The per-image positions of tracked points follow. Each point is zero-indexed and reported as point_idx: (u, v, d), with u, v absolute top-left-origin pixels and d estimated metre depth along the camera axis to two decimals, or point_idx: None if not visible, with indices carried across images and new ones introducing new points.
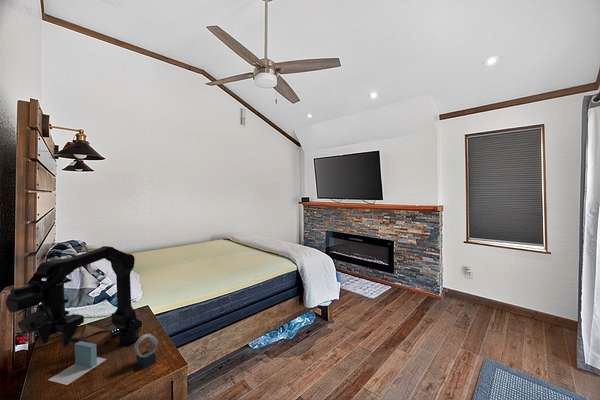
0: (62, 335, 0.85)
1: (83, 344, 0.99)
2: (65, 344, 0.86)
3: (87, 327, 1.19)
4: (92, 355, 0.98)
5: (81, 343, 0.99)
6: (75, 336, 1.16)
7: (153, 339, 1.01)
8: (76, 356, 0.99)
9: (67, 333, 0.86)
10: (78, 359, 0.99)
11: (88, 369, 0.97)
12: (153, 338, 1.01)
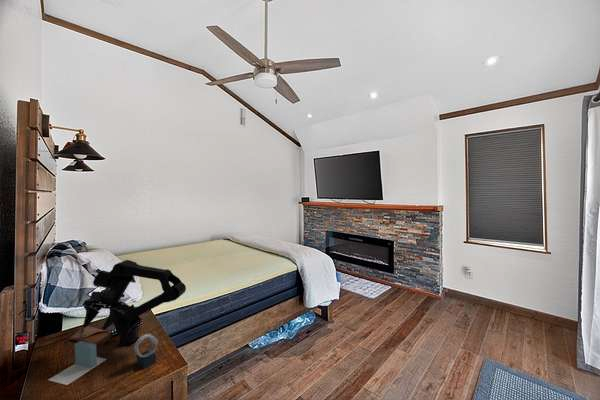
0: (110, 316, 1.02)
1: (83, 344, 0.99)
2: (105, 326, 1.01)
3: (86, 327, 1.19)
4: (92, 355, 0.98)
5: (81, 343, 0.99)
6: (74, 336, 1.16)
7: (153, 339, 1.01)
8: (76, 356, 0.99)
9: (112, 317, 1.03)
10: (78, 359, 0.99)
11: (88, 369, 0.97)
12: (153, 338, 1.01)
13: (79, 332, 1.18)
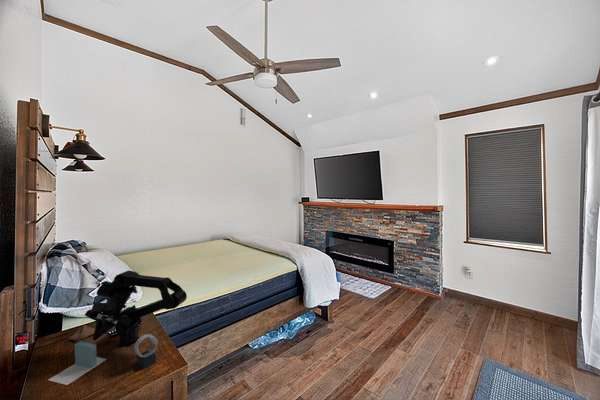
0: (101, 326, 1.04)
1: (83, 344, 0.99)
2: (96, 337, 1.02)
3: (85, 328, 1.18)
4: (92, 355, 0.98)
5: (81, 343, 0.99)
6: (73, 337, 1.15)
7: (153, 339, 1.01)
8: (76, 356, 0.99)
9: (104, 327, 1.04)
10: (78, 359, 0.99)
11: (88, 369, 0.97)
12: (153, 338, 1.01)
13: (78, 332, 1.17)
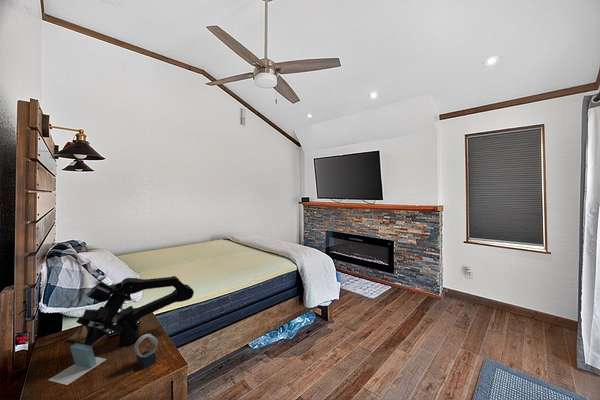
0: (92, 334, 1.01)
1: (78, 347, 0.97)
2: None
3: (84, 328, 1.18)
4: (89, 357, 0.97)
5: (76, 345, 0.98)
6: (72, 337, 1.15)
7: (153, 339, 1.01)
8: (74, 357, 0.98)
9: (95, 335, 1.02)
10: (77, 360, 0.98)
11: (88, 369, 0.97)
12: (153, 338, 1.01)
13: (77, 333, 1.17)
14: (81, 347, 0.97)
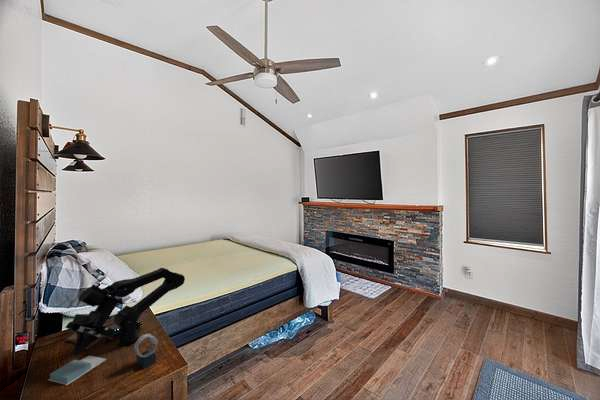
0: (83, 340, 0.97)
1: (57, 379, 0.90)
2: (77, 351, 0.95)
3: None
4: (77, 375, 0.93)
5: (54, 378, 0.91)
6: (70, 338, 1.15)
7: (153, 339, 1.01)
8: None
9: (86, 341, 0.98)
10: None
11: None
12: (153, 338, 1.01)
13: (76, 333, 1.17)
14: (60, 380, 0.90)
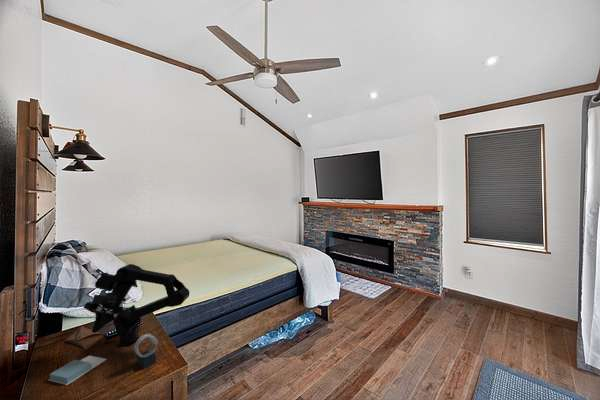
0: (101, 319, 1.03)
1: (57, 379, 0.90)
2: (96, 329, 1.02)
3: (82, 329, 1.17)
4: (77, 375, 0.93)
5: (54, 378, 0.91)
6: (69, 338, 1.14)
7: (153, 339, 1.01)
8: None
9: (104, 320, 1.04)
10: None
11: None
12: (153, 338, 1.01)
13: (75, 334, 1.17)
14: (60, 380, 0.90)
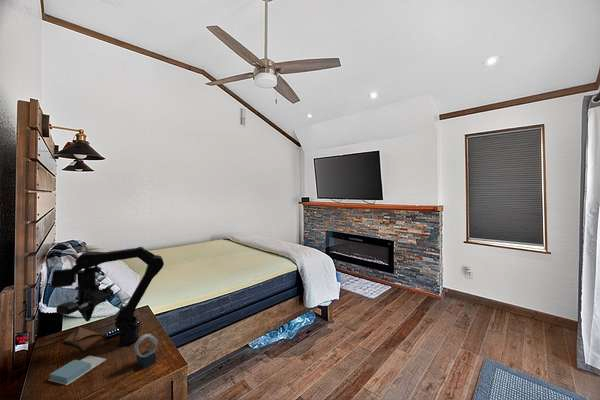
0: (93, 308, 1.07)
1: (57, 379, 0.90)
2: None
3: (80, 330, 1.17)
4: (77, 375, 0.93)
5: (54, 378, 0.91)
6: (68, 339, 1.14)
7: (153, 339, 1.01)
8: None
9: None
10: None
11: None
12: (153, 338, 1.01)
13: (73, 334, 1.16)
14: (60, 380, 0.90)
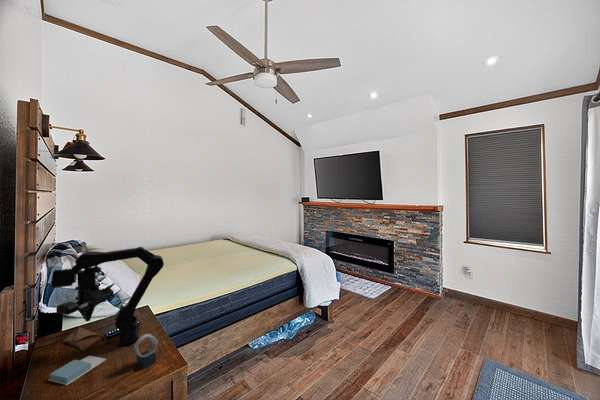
0: (93, 308, 1.07)
1: (57, 379, 0.90)
2: None
3: (80, 330, 1.17)
4: (77, 375, 0.93)
5: (54, 378, 0.91)
6: (67, 339, 1.14)
7: (153, 339, 1.01)
8: None
9: None
10: None
11: None
12: (153, 338, 1.01)
13: (73, 335, 1.16)
14: (60, 380, 0.90)
